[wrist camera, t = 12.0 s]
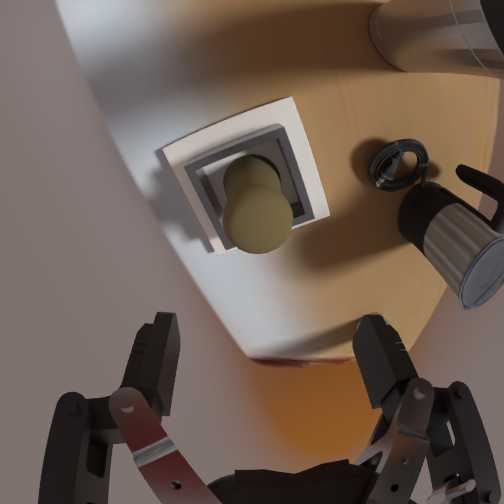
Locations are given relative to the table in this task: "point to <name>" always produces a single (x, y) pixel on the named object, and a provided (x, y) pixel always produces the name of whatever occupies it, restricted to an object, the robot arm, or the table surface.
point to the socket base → (239, 127)
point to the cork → (255, 205)
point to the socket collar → (195, 164)
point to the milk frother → (448, 223)
